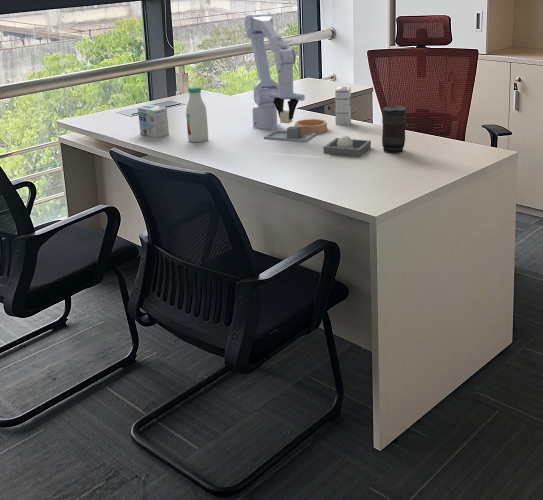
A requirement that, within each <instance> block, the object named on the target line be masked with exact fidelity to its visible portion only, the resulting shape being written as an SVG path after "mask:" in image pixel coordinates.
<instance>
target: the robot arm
mask: <svg viewBox="0 0 543 500" xmlns="http://www.w3.org/2000/svg"><path fill="white" fill-rule="evenodd" d="M273 25H274V19H273V15H272V14H271V12H262V13H261V12H260V13H247V14H246V15H245V19H244V28H245V33H246V37H247V38H248V39H250V42H251V47H252V52H253V57H254V63H255V67H256V73H257V79H258V82H257V83H256V84H255V85H254V86H253V89H252V90H253V99H254V103H255V105H254V106H253V108H252V128H254V129H255V128H257V129H268V130H274V129H276V128H278V127H280V126H281V125H282V123H278V117H279V119H280V112H282V111H283V110H284V104H285V100H288V101H287V105H288V111H289V119H292V120H293V119H294V115H295V111H296V107H297V105H298V103H299V101H300V102H302V101H305V98H306V97H305V96H306V95H305V94H301V93H296V92H294V64H295V63H296V59H297V57H296V55H297V54H296V52H295V49H294V48H293V47H291V46H288V45H287V43H286V41H285V40H284V38H283V37H282V35H278V34H277V32H276V30H275V28H274V26H273ZM265 38H267V40H268V43H267V44H268V47H269V48H270V50H271V52H272V53H273V55H274V63H275V68H276V71H277V82H276V81H274V80H273V79H272V77H271V73H270V67H269V61H268V56H267V51H266V46H265V45H266V44H265Z"/></svg>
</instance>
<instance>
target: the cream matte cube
mask: <svg viewBox="0 0 543 500" xmlns="http://www.w3.org/2000/svg"><path fill="white" fill-rule="evenodd" d="M292 122H293V119H289V110H285V109H283V111H282V112H280V118H279V124H290V123H292Z"/></svg>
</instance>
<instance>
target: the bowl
mask: <svg viewBox="0 0 543 500" xmlns="http://www.w3.org/2000/svg"><path fill="white" fill-rule="evenodd" d="M327 123H328V122H327V121H326V120H323V119H320V118H319V119H316V118H308V119H307V118H306V119H305V118H304V119H300V120H297V121H295V122H294V124H295V125H305V132H307V133H316V134H321V133H324V132H326V131H327V129H328V128H327V127H328V126H327V125H328V124H327ZM295 125H294V126H295Z"/></svg>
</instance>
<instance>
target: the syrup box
mask: <svg viewBox="0 0 543 500" xmlns="http://www.w3.org/2000/svg"><path fill="white" fill-rule="evenodd" d="M351 91H352V89H351V87H350V86H338V87H336V89H335V92H334V95H335V97H334V99H335V100H334V101H335V103H334V104H335V106H334V107H335V109H334V110H335V111H334V113H335V115H334V116H335V126H344V127H345V126H351V125H350V124H351V122H352V119H351V118H352V117H351V116H352V105H351V103H352V102H351V101H352V97H351V96H352V95H351Z"/></svg>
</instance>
